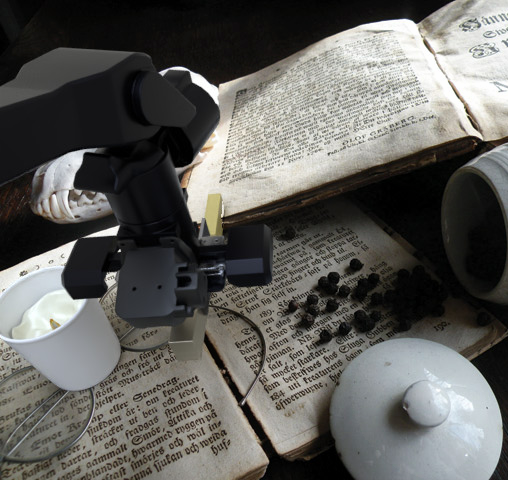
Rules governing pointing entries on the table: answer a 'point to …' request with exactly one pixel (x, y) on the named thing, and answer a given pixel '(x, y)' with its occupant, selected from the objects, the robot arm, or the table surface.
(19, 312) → the candle holder
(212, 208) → the butter slice
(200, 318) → the knife
